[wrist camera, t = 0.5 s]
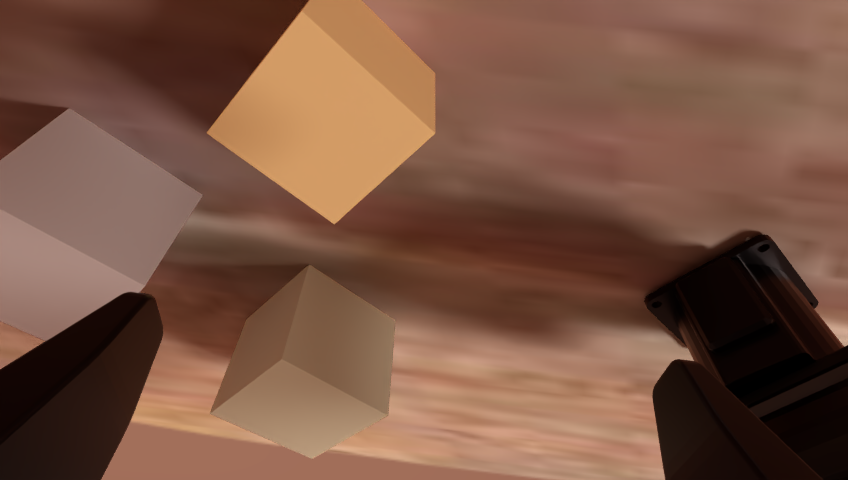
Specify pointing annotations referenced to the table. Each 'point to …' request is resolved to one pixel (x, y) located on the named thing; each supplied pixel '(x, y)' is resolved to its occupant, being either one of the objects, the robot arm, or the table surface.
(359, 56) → the mustard block
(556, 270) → the table surface
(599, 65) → the table surface
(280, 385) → the tan cube
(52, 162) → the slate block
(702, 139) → the table surface
